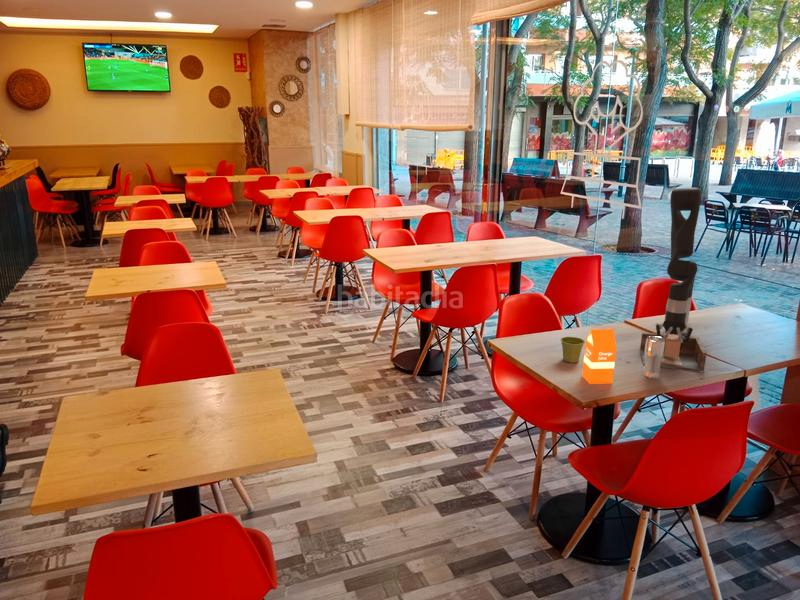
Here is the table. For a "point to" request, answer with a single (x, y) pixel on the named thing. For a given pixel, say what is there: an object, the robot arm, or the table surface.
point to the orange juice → (599, 356)
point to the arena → (681, 355)
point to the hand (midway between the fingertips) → (670, 349)
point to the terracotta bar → (672, 346)
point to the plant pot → (571, 348)
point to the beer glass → (653, 356)
